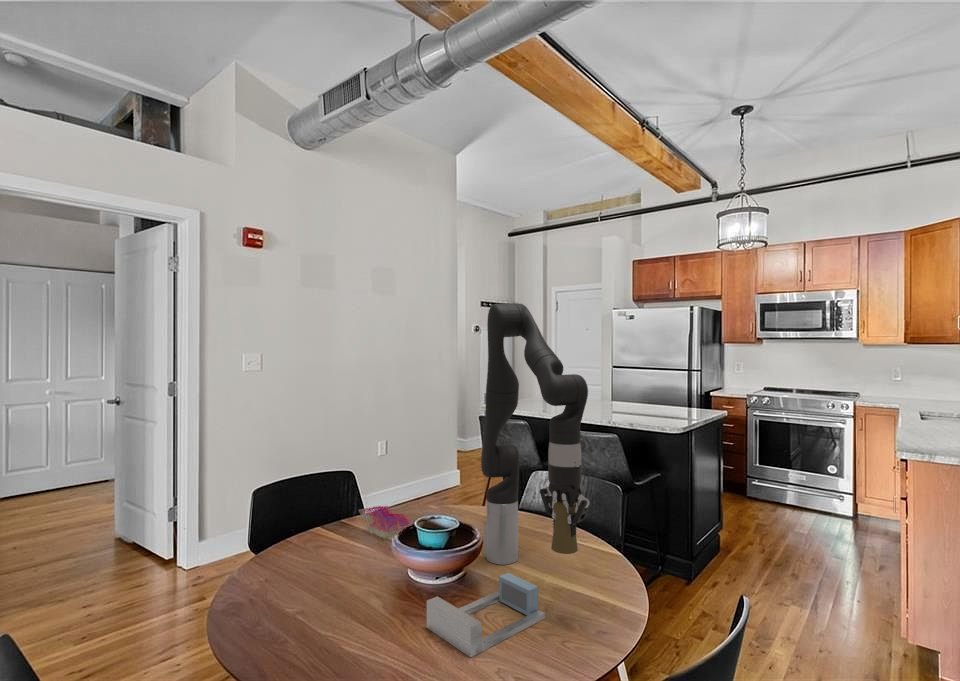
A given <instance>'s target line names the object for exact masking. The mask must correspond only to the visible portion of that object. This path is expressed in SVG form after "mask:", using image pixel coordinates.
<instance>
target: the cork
mask: <svg viewBox="0 0 960 681" xmlns="http://www.w3.org/2000/svg"><path fill="white" fill-rule="evenodd" d="M569 508H570V511H571V513H572V517H573V516H574V514H575V508H576V506H575V505H574V506H572V507H570V506H569ZM553 511H554V513H555V515H556V516H555V524H554V525H553V526H554V530H553V534H552V542H551V546H550V547H551V551H554V552H555V553H557V554H563V555H571V554H575V553H577V552H578V551H579V550H578V549H579V548H578V541H577V536H576V537H573V538H572V537H571V527H570V524H568V520H567V518H568V516H569V514H568V513H567V508H566V506H565V505H564V504H563V502H560V501H558V502H557V503H555V504H554V506H553Z"/></svg>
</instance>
